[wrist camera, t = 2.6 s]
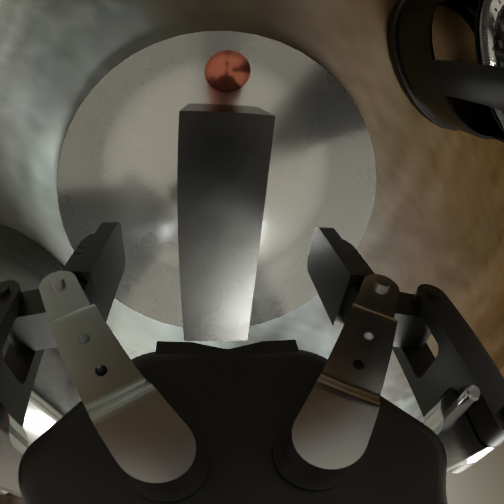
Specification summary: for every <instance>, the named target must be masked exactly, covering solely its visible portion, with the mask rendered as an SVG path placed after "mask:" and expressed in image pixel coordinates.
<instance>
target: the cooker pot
mask: <svg viewBox="0 0 504 504" xmlns="http://www.w3.org/2000/svg"><path fill="white" fill-rule="evenodd" d="M63 268H64V266H63V265H62V264H61V263H60V262H59V261H58V260H57V259H56V258H54V257H53V256H52V255H51V254H50V253H49V252H48V251H46V250H45V249H44V248H43V247H41V246H40V245H39V244H38V243H36V242H35V241H33V240H32V239H30V238H29V237H27V236H25V235H24V234H22V233H20V232H18V231H16V230H14V229H12V228H9V227H7V226H4V225H1V224H0V282H3V281H6V280H15V281H17V282H18V283H19V285H20V288H21V290H22V292H23V291H29V290H34V289H39V285H40V283H41V281H42V280H43V279H44V278H45V277H46V276H47V275H49V274H51V273H53V272H57V271H62V270H63ZM9 345H10V341H9V339H8V337H7V339H6V341H5V343H4V345H3V350H2V354H3V359H4V357H5V354H6V352H7V349H8V347H9ZM80 401H81V398H80V396H79V394H78V392H77V390H76V388H75V386H74V384H73V382H72V379H71V377H70V375H69V373H68V371H67V368H66V366H65V364H64V361H63V359H62V357H61V354H60V352H59V349H58V347H55V348H48V349H45V350H44V353H43V356H42V359H41V362H40V365H39V368H38V371H37V374H36V378H35V381H34V385H33V388H32V392H31V395H30V399H29V403H28V407H27V411H26V415H25V420H24V424H23V428H24V430H25V432H26V434H27V437H28V447H29V446H30V445H31V444H32V443H33V442H34V441H35V440H36V439H37V438H38V437H40V436H41V435H42V434H43V433H44V432H45V431H47V430H48V429H49V428H50V427H51V426H52V425H54V424H55V423H56V422H57V421H58V420H59V419H61V418H62V417H63V416H64V415H65V414H66V413H67V412H69V411H70V410H71V409H72V408H73V407H74V406H76V405H77V404H78V403H79V402H80Z"/></svg>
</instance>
